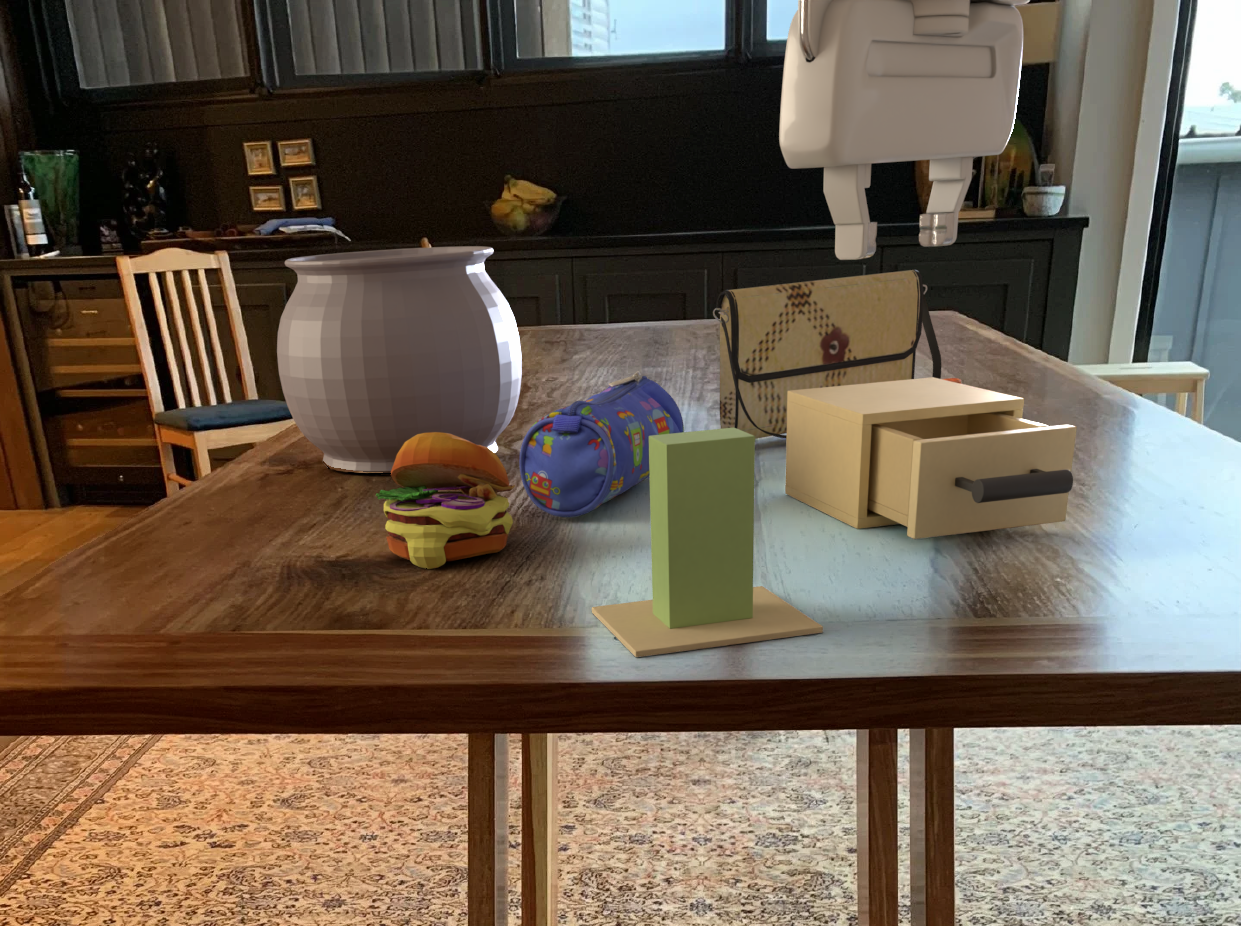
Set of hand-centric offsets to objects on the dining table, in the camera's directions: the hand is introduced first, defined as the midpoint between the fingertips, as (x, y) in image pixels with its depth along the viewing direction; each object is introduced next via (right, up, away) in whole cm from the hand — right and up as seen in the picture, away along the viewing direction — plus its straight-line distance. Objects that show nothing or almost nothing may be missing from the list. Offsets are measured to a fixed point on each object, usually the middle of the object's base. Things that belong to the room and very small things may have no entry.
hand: (897, 252), depth 76 cm
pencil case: (-16, -2, +42) cm, 45 cm away
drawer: (+11, -9, +24) cm, 28 cm away
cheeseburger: (-29, -11, +26) cm, 41 cm away
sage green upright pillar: (-11, -20, +7) cm, 24 cm away
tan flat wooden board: (-11, -20, +7) cm, 24 cm away
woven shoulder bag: (+9, +12, +65) cm, 67 cm away
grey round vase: (-36, +8, +63) cm, 73 cm away
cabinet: (+8, -5, +34) cm, 35 cm away
